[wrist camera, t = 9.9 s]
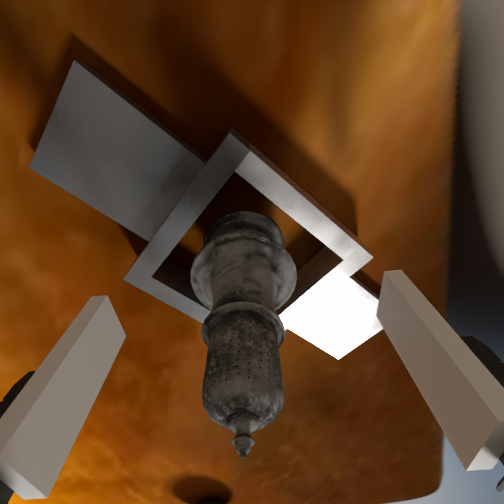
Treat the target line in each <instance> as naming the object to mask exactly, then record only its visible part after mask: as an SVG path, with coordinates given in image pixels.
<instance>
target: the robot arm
mask: <svg viewBox="0 0 504 504" xmlns="http://www.w3.org/2000/svg"><path fill="white" fill-rule="evenodd" d="M376 316H377V318H378V320H379V322H380V323H381V325H382V327H383V328H384V330H385V332H386V334H387V335H388V337H389V339H390V340H391V342H392V344H393V346H394V347H395V349H396V351H397V353H398V354H399V356H400V358H401V359H402V361H403V363H404V365H405V366H406V368H407V370H408V371H409V373H410V375H411V377H412V378H413V380H414V382H415V384H416V385H417V387H418V389H419V390H420V392H421V394H422V396H423V397H424V399H425V401H426V403H427V404H428V406H429V408H430V409H431V411H432V413H433V415H434V416H435V418H436V420H437V421H438V423H439V425H440V427H441V428H442V430H443V432H444V434H445V435H446V437H447V439H448V440H449V442H450V444H451V446H452V447H453V449H454V451H455V452H456V454H457V456H458V458H459V459H460V461H461V463H462V465H463V466H464V468H465V470H466V471H470V470H484V469H485V470H486V469H492V468H493V467H494V466H495V464H496V463H497V462H498V461H499V460H500V461H501V462H502V464H503V465H504V363H502V362H501V360H500V359H499V358H498V357H497V355H496V354H495V353H494V352H493V351H492V350H491V349H490V348H489V347H488V346H486V345H485V344H483V343H482V342H480V341H479V340H477V339H476V338H474V337H473V336H463V337H459V336H458V335H457V334H456V332H455V331H454V330H453V329H452V328H451V327H450V326H449V324H448V323H447V322H446V321H445V320H444V319H443V318H442V316H441V315H440V314H439V313H438V312H437V311H436V309H435V308H434V307H433V306H432V305H431V304H430V303H429V301H428V300H427V299H426V298H425V297H424V296H423V294H422V293H421V292H420V291H419V290H418V289H417V288H416V286H415V285H414V284H413V283H412V282H411V281H410V280H409V278H408V277H407V276H406V275H405V274H404V273H403V271H402V270H394V271H384V276H383V281H382V287H381V292H380V297H379V303H378V308H377V313H376ZM125 337H126V335H125V333H124V330H123V328H122V326H121V324H120V322H119V320H118V318H117V315H116V313H115V311H114V309H113V307H112V305H111V302H110V300H109V298H108V296H107V295H106V296H94V297H91V298H90V299H89V301H88V302H87V303H86V305H85V306H84V307H83V309H82V310H81V311H80V313H79V314H78V315H77V317H76V318H75V319H74V321H73V322H72V323H71V325H70V326H69V327H68V329H67V330H66V331H65V333H64V334H63V335H62V337H61V338H60V339H59V341H58V342H57V343H56V345H55V346H54V347H53V349H52V350H51V352H50V353H49V354H48V356H47V357H46V358H45V360H44V361H43V362H42V364H41V365H40V366H39V368H38V369H37V370H36V371H30V372H28V373H27V374H26V375H25V376H24V377H22V378H21V379H20V380H19V381H18V382H17V383H15V384H14V386H13V387H12V388H11V389H10V391H9V392H8V393H7V394H6V396H5V397H4V398H3V401H2V402H0V504H8V501H9V500H10V498H11V496H12V495H13V493H14V492H15V493H16V494H17V495H19V496H20V497H21V498H23V499H24V500H25V499H41V498H48V496H49V494H50V492H51V490H52V488H53V486H54V483H55V481H56V479H57V477H58V475H59V473H60V471H61V469H62V467H63V465H64V463H65V461H66V459H67V457H68V455H69V453H70V451H71V449H72V446H73V444H74V442H75V440H76V438H77V436H78V434H79V432H80V430H81V428H82V426H83V424H84V422H85V420H86V418H87V416H88V414H89V411H90V409H91V407H92V405H93V403H94V401H95V399H96V397H97V395H98V393H99V391H100V389H101V387H102V385H103V383H104V381H105V379H106V377H107V374H108V372H109V370H110V368H111V366H112V364H113V362H114V360H115V358H116V356H117V354H118V352H119V350H120V348H121V346H122V344H123V342H124V339H125ZM503 489H504V477H503V478H502V479H501V480H500V481H499V483H498V485H497V487H496V490H497V491H499V492H501V491H502V490H503Z"/></svg>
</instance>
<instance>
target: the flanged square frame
mask: <svg viewBox="0 0 504 504" xmlns="http://www.w3.org/2000/svg"><path fill="white" fill-rule="evenodd" d="M29 168H30V169H32V170H34V171H35V172H37V173H38V174H40V175H42V176H43V177H45V178H46V179H48V180H50V181H51V182H53V183H55V184H56V185H58V186H59V187H61V188H63V189H64V190H66V191H67V192H69V193H71V194H72V195H74V196H76V197H77V198H79V199H80V200H82V201H84V202H85V203H87V204H88V205H90V206H92V207H93V208H95V209H96V210H98V211H100V212H101V213H103V214H105V215H106V216H108V217H109V218H111V219H113V220H114V221H116V222H117V223H119V224H121V225H122V226H124V227H126V228H127V229H129V230H130V231H132V232H134V233H135V234H137V235H138V236H140V237H142V238H143V239H145V240H147V241H148V243H147V244H146V246H145V247H144V249H143V250H142V251H141V253H140V254H139V256H138V257H137V258H136V260H135V261H134V263H133V265H132V266H131V268H130V269H129V271H128V272H127V274H126V275H125V277H124V278H123V280H125V281H127V282H128V283H130V284H132V285H134V286H136V287H137V288H139V289H141V290H143V291H145V292H147V293H148V294H150V295H152V296H154V297H156V298H158V299H159V300H161V301H163V302H165V303H167V304H168V305H170V306H172V307H174V308H176V309H178V310H179V311H181V312H183V313H185V314H187V315H189V316H190V317H192V318H194V319H196V320H198V321H200V322H201V323H204V320H205V318H206V317H207V316H208V315H209V314H210V313H211V312H212V310H210V309H209V308H207V307H206V306H205V305H204V304H203V303H201V301H200V300H199V299H198V297H197V296H196V295H195V293H194V290H193V288H192V285H191V272H189V271H187V270H186V269H184V268H182V267H181V266H179V265H178V264H176V263H174V262H173V261H171V260H169V259H168V258H166V257H167V256H168V255H169V254H170V252H171V251H172V250H173V248H174V247H175V246H176V245H177V243H178V242H179V241H180V240H181V238H182V237H183V236H184V234H185V233H186V232H187V231H188V229H189V228H190V227H191V226H192V224H193V223H194V222H195V220H196V219H197V218H198V217H199V215H200V214H201V213H202V212H203V210H204V209H205V208H206V207H207V205H208V204H209V203H210V201H211V200H212V199H213V198H214V196H215V195H216V194H217V193H218V191H219V190H220V189H221V187H222V186H223V185H224V184H225V182H226V181H227V180H228V179H229V177H230V176H231V175H232V173H233V172H234V171H235V172H236V173H238V174H239V175H240V176H241V177H242V178H244V179H245V180H246V181H247V182H249V183H250V184H251V185H252V186H254V187H255V188H256V189H257V190H258V191H260V192H261V193H262V194H263V195H265V196H266V197H267V198H268V199H270V200H271V201H272V202H273V203H274V204H276V205H277V206H278V207H279V208H281V209H282V210H283V211H284V212H286V213H287V214H288V215H289V216H290V217H292V218H293V219H294V220H295V221H297V222H298V223H299V224H300V225H302V226H303V227H304V228H305V229H306V230H308V231H309V232H310V233H311V234H313V235H314V236H315V237H316V238H318V239H319V240H320V241H321V242H322V243H324V244H325V245H326V246H325V247H324V248H322V249H321V250H320V251H319V252H318V253H317V254H316V255H315V256H314V257H313V258H312V259H310V260H309V261H308V262H307V263H306V264H305V265H304V266H303V267H302V268H301V269H300V270H298V271H297V281H296V285H295V289H294V291H293V293H292V295H291V296H290V298H289V299H288V300H287V301H286V302H285V303H284V304H283V305H282V306H281V307H280V308H279V309H277V310H275V312H276V313H277V314H278V315H279V316H280V318H281V319H282V321H283V323H284V327H285V330H286V329H287V328H289V329H290V330H292V331H294V332H295V333H297V334H298V335H300V336H302V337H303V338H305V339H306V340H308V341H310V342H311V343H313V344H314V345H316V346H318V347H319V348H321V349H323V350H324V351H326V352H327V353H329V354H331V355H332V356H334V357H335V358H337V359H340V358H341V357H342V356H344V355H345V354H347V353H348V352H350V351H351V350H353V349H354V348H356V347H357V346H359V345H360V344H361V343H363V342H364V341H366V340H367V339H369V338H370V337H372V336H373V335H375V334H376V333H377V332H379V331H380V330H382V329H383V327H382V325H381V323H380V322H379V320H378V318H377V316H376V313H377V308H378V303H379V296H378V295H377V294H376V293H374V292H373V291H372V290H371V289H369V288H368V287H367V286H366V285H364V284H363V283H362V282H361V281H359V280H358V279H357V278H356V277H354V276H353V274H354V273H355V272H356V271H357V270H359V269H360V268H361V267H362V266H364V265H365V264H366V263H367V262H368V261H370V260H371V259H372V258H373V256H372V255H371V253H370V252H369V251H368V249H367V248H366V247H365V246H364V244H363V243H362V242H361V240H360V239H359V238H358V237H357V236H356V235H355V234H354V233H353V232H352V231H350V230H349V229H348V228H347V227H346V226H345V225H344V224H342V223H341V222H340V221H339V220H338V219H337V218H336V217H334V216H333V215H332V214H331V213H330V212H329V211H328V210H327V209H325V208H324V207H323V206H322V205H321V204H320V203H319V202H317V201H316V200H315V199H314V198H313V197H312V196H311V195H309V194H308V193H307V192H306V191H305V190H304V189H303V188H301V187H300V186H299V185H298V184H297V183H296V182H295V181H294V180H292V179H291V178H290V177H289V176H288V175H287V174H286V173H284V172H283V171H282V170H281V169H280V168H279V167H278V166H276V165H275V164H274V163H273V162H272V161H271V160H270V159H268V158H267V157H266V156H265V155H264V154H263V153H262V152H261V151H259V150H258V149H257V148H256V147H255V146H254V145H253V144H251V143H250V142H249V141H248V140H247V139H246V138H245V137H243V136H242V135H241V134H240V133H239V132H238V131H237V130H235V129H234V128H233V127H231V129H230V130H229V131H228V133H227V134H226V136H225V137H224V138H223V140H222V141H221V142H220V144H219V145H218V147H217V148H216V149H215V151H214V152H213V153H212V155H211V156H210V158H209V159H206V158H205V157H204V156H203V155H201V154H200V153H199V152H197V151H196V150H195V149H194V148H192V147H191V146H190V145H189V144H187V143H186V142H185V141H184V140H182V139H181V138H180V137H179V136H177V135H176V134H175V133H174V132H172V131H171V130H170V129H169V128H167V127H166V126H165V125H164V124H162V123H161V122H160V121H159V120H157V119H156V118H155V117H154V116H152V115H151V114H150V113H149V112H147V111H146V110H145V109H144V108H142V107H141V106H140V105H139V104H137V103H136V102H135V101H134V100H132V99H131V98H130V97H128V96H127V95H126V94H125V93H123V92H122V91H121V90H120V89H118V88H117V87H116V86H115V85H113V84H112V83H111V82H110V81H108V80H107V79H106V78H105V77H103V76H102V75H101V74H100V73H98V72H97V71H96V70H95V69H93V68H92V67H91V66H90V65H88V64H87V63H86V62H82V61H76V60H74V61H73V63H72V66H71V68H70V71H69V73H68V75H67V78H66V80H65V82H64V85H63V87H62V90H61V92H60V94H59V97H58V99H57V101H56V104H55V106H54V109H53V111H52V113H51V116H50V118H49V121H48V123H47V125H46V128H45V130H44V132H43V135H42V137H41V140H40V142H39V144H38V147H37V149H36V152H35V154H34V156H33V159H32V161H31V163H30V166H29Z"/></svg>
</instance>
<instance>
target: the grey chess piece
mask: <svg viewBox="0 0 504 504" xmlns="http://www.w3.org/2000/svg"><path fill="white" fill-rule="evenodd" d="M190 272H191V285H192V288H193V290H194V293H195V295H196V296H197V297H198V299H199V300H200V301H201V303H203V304H204V305H205V306H206V307H207V308H209V309H210V310H212V312H211V313H210V314H209V315H208V316H207V317H206V318H205V320H204V323H203V325H202V337H203V340H204V343H205V344H206V345H207V346H208V353H207V360H206V367H205V374H204V381H203V388H202V400H203V406H204V408H205V410H206V412H207V414H208V415H209V417H210V418H211V419H212V420H213V421H214V422H215V423H217V424H219V425H220V426H222V427H224V428H226V429H229V430H231V431H233V432H235V433H236V437H235V438H234V439H233V440H232V445H233V446H235V447H236V451H237V453H239V454H240V457H241V458H245V457H246V455H247V454H248V453H249V451H250V449H251V446H253V445H254V443H255V442H254V439H253V438H252V437H250V433H251V432H254V431H255V430H258V429H261V428H263V427H265V426H266V425H268V424H269V423H271V422H272V421H274V420H275V418H276V417H277V416H278V414H279V413H280V411H281V409H282V407H283V403H284V387H283V379H282V371H281V363H280V356H279V347H280V346H281V344H282V342H283V341H284V337H285V327H284V323H283V321H282V319H281V318H280V316H279V315H278V314H277V313H276V312H275V310H277V309H279V308H280V307H281V306H282V305H283V304H284V303H285V302H286V301H287V300H288V299H289V298H290V296H291V295H292V293H293V291H294V289H295V285H296V281H297V272H296V265H295V263H294V261H293V259H292V256H291V255H290V253H289V252H288V251H287V250H286V249H285V248H284V242H283V237H282V234H281V232H280V230H279V228H278V227H277V226H276V225H275V224H274V222H273V221H271V220H270V219H268V218H267V217H265V216H264V215H261V214H258V213H256V212H250V211H238V212H232V213H229V214H227V215H224V216H222V217H220V218H219V219H218V220H217V221H215V222H214V223H213V224H212V225H211V227H210V228H209V230H208V231H207V234H206V237H205V240H204V247H203V248H202V249H201V250H200V252H199V253H198V254H197V256H196V257H195V259H194V262H193V265H192V268H191V271H190Z"/></svg>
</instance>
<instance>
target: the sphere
mask: <svg viewBox="0 0 504 504" xmlns="http://www.w3.org/2000/svg"><path fill="white" fill-rule="evenodd" d="M202 504H222V503H220V502H217V501H208V502H205V503H202Z"/></svg>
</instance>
